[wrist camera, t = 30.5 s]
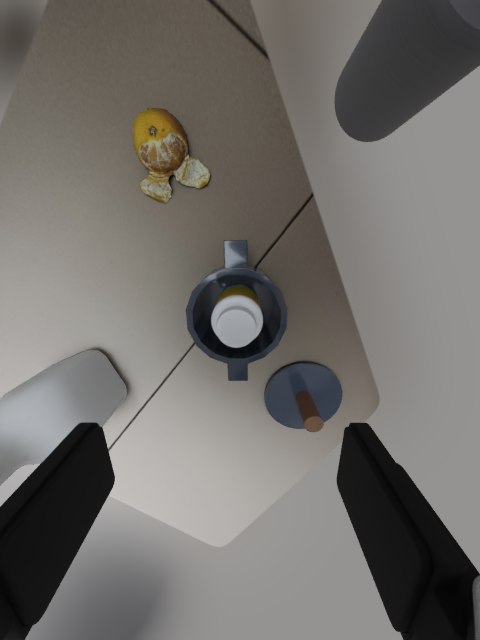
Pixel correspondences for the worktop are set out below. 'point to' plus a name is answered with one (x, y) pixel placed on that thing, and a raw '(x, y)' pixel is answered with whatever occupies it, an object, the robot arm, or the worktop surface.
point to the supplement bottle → (237, 316)
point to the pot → (207, 298)
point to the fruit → (165, 154)
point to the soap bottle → (56, 407)
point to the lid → (303, 396)
